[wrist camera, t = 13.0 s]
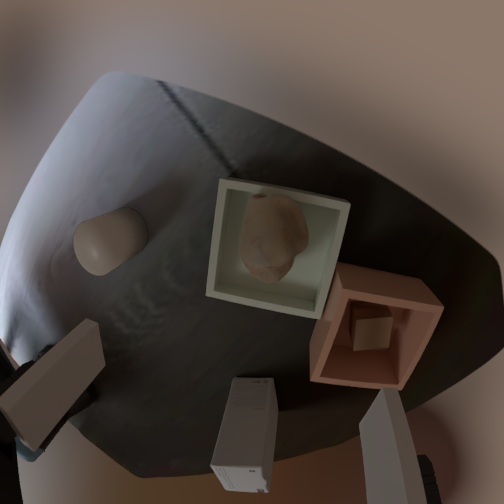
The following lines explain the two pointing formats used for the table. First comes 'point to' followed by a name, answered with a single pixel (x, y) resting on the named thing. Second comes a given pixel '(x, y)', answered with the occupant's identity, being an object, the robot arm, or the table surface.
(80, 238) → the beige rounded capsule
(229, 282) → the green dish
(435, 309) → the pink open box
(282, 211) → the stone
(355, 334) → the walnut block
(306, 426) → the table surface
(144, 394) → the table surface
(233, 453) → the skincare box
